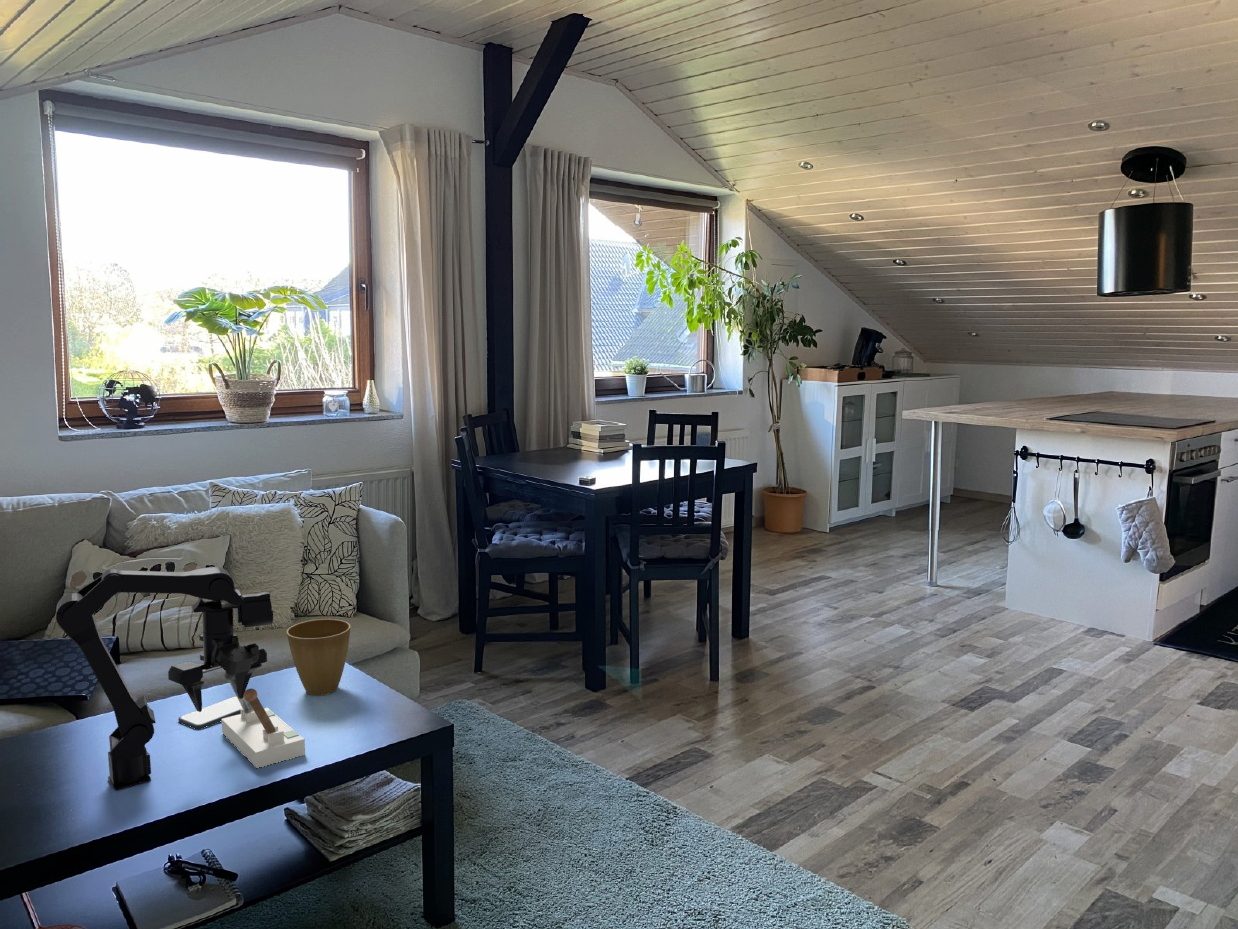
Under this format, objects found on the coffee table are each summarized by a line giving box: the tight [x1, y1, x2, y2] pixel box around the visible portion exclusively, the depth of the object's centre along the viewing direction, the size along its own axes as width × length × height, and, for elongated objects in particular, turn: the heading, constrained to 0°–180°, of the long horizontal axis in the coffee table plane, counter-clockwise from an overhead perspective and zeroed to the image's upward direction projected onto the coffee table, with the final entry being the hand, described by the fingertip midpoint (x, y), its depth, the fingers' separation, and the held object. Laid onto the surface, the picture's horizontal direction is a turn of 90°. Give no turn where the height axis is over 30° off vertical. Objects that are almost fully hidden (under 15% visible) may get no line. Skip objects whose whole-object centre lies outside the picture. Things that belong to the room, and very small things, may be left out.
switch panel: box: [221, 707, 306, 769], centre depth 202 cm, size 10×22×6 cm, turn 39°
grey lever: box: [224, 671, 253, 713], centre depth 205 cm, size 3×3×12 cm
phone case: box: [178, 695, 243, 730], centre depth 219 cm, size 9×2×16 cm
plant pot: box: [286, 618, 351, 697], centre depth 232 cm, size 15×15×16 cm
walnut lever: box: [244, 688, 276, 734], centre depth 195 cm, size 3×3×12 cm
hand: (220, 704), depth 193 cm, fingers open, 9 cm apart
